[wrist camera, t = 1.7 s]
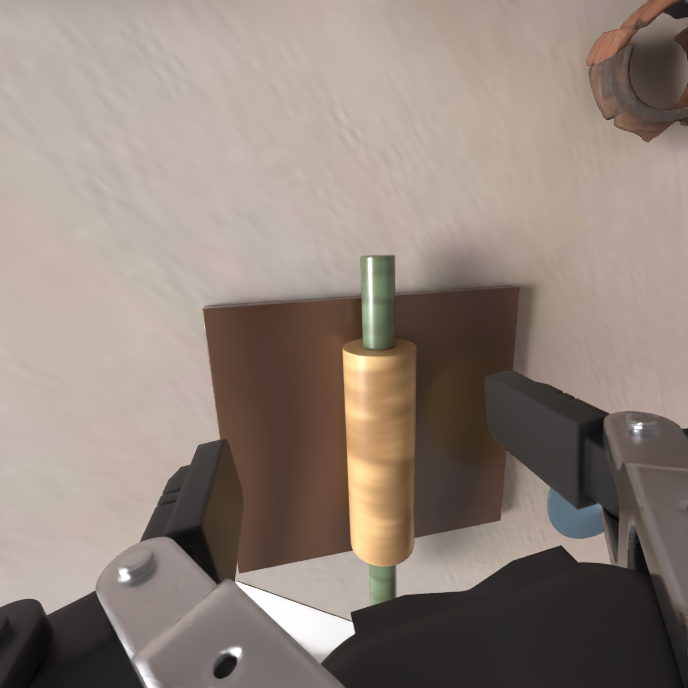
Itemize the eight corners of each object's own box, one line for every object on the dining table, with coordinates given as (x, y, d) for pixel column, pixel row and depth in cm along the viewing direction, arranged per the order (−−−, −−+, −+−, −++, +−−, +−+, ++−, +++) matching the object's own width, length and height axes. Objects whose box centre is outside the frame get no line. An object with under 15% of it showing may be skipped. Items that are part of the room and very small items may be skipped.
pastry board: (239, 562, 31) (239, 573, 30) (204, 306, 26) (201, 308, 25) (493, 512, 36) (500, 520, 35) (510, 285, 30) (519, 286, 29)
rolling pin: (347, 580, 33) (361, 637, 28) (332, 256, 25) (347, 258, 21) (400, 569, 34) (423, 621, 29) (400, 253, 26) (430, 254, 22)
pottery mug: (664, 157, 31) (724, 149, 24) (548, 133, 33) (570, 119, 25) (768, -33, 26) (886, -119, 18) (622, -50, 27) (677, -134, 20)
